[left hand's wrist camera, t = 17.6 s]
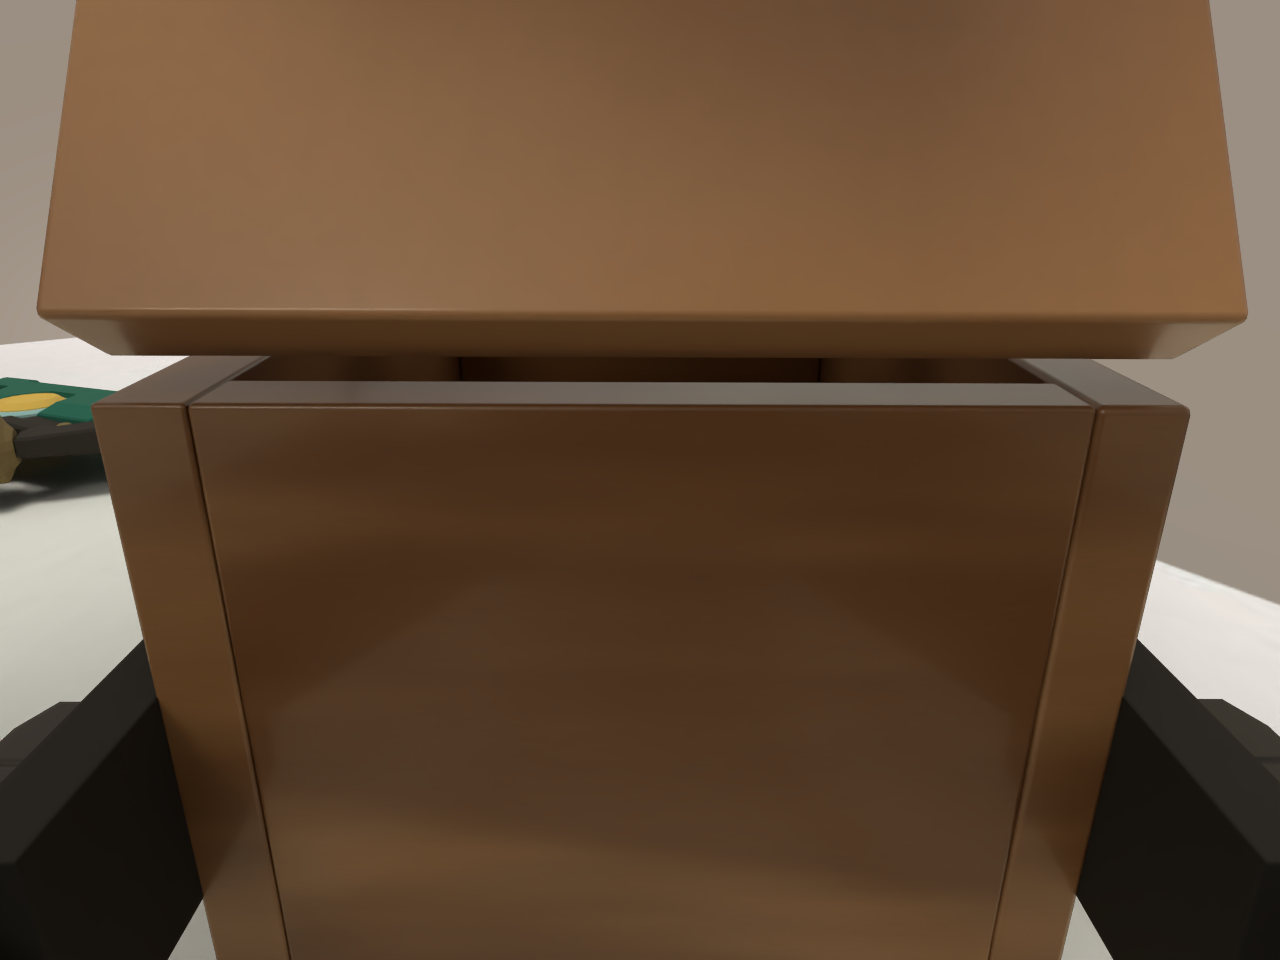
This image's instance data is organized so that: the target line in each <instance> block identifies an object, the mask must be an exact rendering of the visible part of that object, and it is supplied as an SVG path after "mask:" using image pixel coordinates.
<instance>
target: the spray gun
mask: <svg viewBox="0 0 1280 960" xmlns="http://www.w3.org/2000/svg"><path fill="white" fill-rule="evenodd" d="M115 392H117V391H109V390H101V389H92V388H83V387H74V386H66V385H57V384H48V383H40V382H39V381H36V380H27V379H18V378H8V377H6V378H1V379H0V484H2V483H8V482H10V481H11V480H12V477H13V474H14V472H15V469H16V468H17V466H18V465H19V464H20V462H21V458H40V457H54V456H68V455H81V454H95V453H101V451H100V447H99V443H98V438H97V434H96V430H95V425H94V421H93V416H92V412H91V405H92V404H93V403H95V402H97V401H99V400H101V399H103V398H105V397H107V396H109V395H111V394H113V393H115Z"/></svg>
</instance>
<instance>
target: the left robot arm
mask: <svg viewBox="0 0 1280 960" xmlns="http://www.w3.org/2000/svg"><path fill="white" fill-rule="evenodd" d="M1076 896H1077V897H1078V899H1079V901H1080V903H1081V904H1082V906H1083V908H1084V910H1085V911H1086V913H1087V915H1088V916H1089V918H1090V920H1091V922H1092V923H1093V925H1094V927H1095V929H1096V930H1097V932H1098V934H1099V936H1100V937H1101V939H1102V941H1103V943H1104V944H1105V946H1106V948H1107V949H1108V951H1109V953H1110V955H1111V956H1112V958H1113V960H1280V737H1279V736H1278V735H1277V734H1276V733H1275V732H1274V731H1273V730H1272V729H1271V728H1270V727H1269V726H1267V725H1266V724H1264V723H1262V722H1260V721H1259V720H1257V719H1255V718H1254V717H1252V716H1250V715H1248V714H1247V713H1245V712H1243V711H1242V710H1240V709H1238V708H1236V707H1235V706H1233V705H1231V704H1230V703H1228V702H1226V701H1224V700H1223V699H1197V698H1196V697H1195V696H1194V695H1193V694H1192V693H1191V692H1190V691H1189V690H1188V689H1187V688H1186V687H1185V686H1184V685H1183V684H1182V683H1181V682H1180V681H1179V680H1178V679H1177V678H1176V677H1175V676H1174V675H1173V674H1172V673H1171V672H1170V671H1169V670H1168V669H1167V668H1166V667H1165V666H1164V665H1163V664H1162V663H1161V662H1160V661H1159V660H1158V659H1157V658H1156V657H1155V656H1154V655H1153V654H1152V653H1151V652H1150V651H1149V650H1148V649H1147V648H1146V647H1145V646H1144V645H1143V644H1142V643H1141V642H1140V641H1139V640H1138V639H1137V641H1136V646H1135V650H1134V654H1133V658H1132V662H1131V667H1130V671H1129V675H1128V679H1127V684H1126V688H1125V692H1124V696H1123V698H1122V702H1121V706H1120V710H1119V715H1118V719H1117V723H1116V727H1115V732H1114V736H1113V740H1112V745H1111V749H1110V753H1109V757H1108V762H1107V766H1106V770H1105V774H1104V779H1103V783H1102V787H1101V792H1100V796H1099V800H1098V804H1097V809H1096V813H1095V817H1094V821H1093V826H1092V830H1091V834H1090V839H1089V843H1088V847H1087V851H1086V856H1085V860H1084V864H1083V868H1082V873H1081V877H1080V881H1079V885H1078V890H1077V894H1076ZM203 897H204V896H203V892H202V887H201V883H200V879H199V874H198V870H197V866H196V861H195V857H194V853H193V848H192V844H191V840H190V835H189V831H188V827H187V822H186V818H185V814H184V810H183V805H182V801H181V797H180V792H179V788H178V784H177V779H176V775H175V771H174V766H173V762H172V758H171V753H170V749H169V745H168V740H167V736H166V732H165V727H164V723H163V719H162V715H161V710H160V706H159V702H158V698H157V696H156V692H155V687H154V683H153V679H152V674H151V670H150V666H149V661H148V657H147V652H146V648H145V644H144V639H143V640H142V641H141V642H140V643H139V644H138V645H137V646H136V647H135V648H134V649H133V650H132V651H131V652H130V653H129V654H128V655H127V656H126V657H125V658H124V659H123V660H122V661H121V662H120V663H119V664H118V665H117V666H116V667H115V668H114V669H113V670H112V671H111V672H110V673H109V674H108V675H107V676H106V677H105V678H104V679H103V680H102V681H101V682H100V683H99V684H98V685H97V686H96V687H95V688H94V689H93V690H92V691H91V692H90V693H89V694H88V695H87V696H86V697H85V698H84V699H83V700H82V701H81V702H59V703H57V704H55V705H54V706H52V707H50V708H49V709H47V710H45V711H43V712H42V713H40V714H38V715H37V716H35V717H33V718H32V719H30V720H28V721H26V722H25V723H23V724H21V725H20V726H18V727H16V728H14V729H13V730H12V731H11V732H10V733H9V734H8V735H7V736H6V737H5V738H4V739H3V740H2V741H0V960H168V958H169V956H170V955H171V953H172V951H173V949H174V948H175V946H176V944H177V942H178V941H179V939H180V937H181V935H182V934H183V932H184V930H185V928H186V927H187V925H188V923H189V922H190V920H191V918H192V916H193V915H194V913H195V911H196V909H197V908H198V906H199V904H200V902H201V901H202V899H203Z"/></svg>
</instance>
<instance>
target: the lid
mask: <svg viewBox="0 0 1280 960" xmlns="http://www.w3.org/2000/svg"><path fill="white" fill-rule="evenodd" d="M37 312H38V315H39V316H40V318H42V319H44V320H46V321H48V322H50V323H52V324H53V325H55V326H57V327H59V328H61V329H63V330H64V331H66V332H68V333H70V334H72V335H74V336H76V337H77V338H79V339H81V340H83V341H85V342H87V343H89V344H90V345H92V346H94V347H96V348H98V349H100V350H102V351H103V352H105V353H107V354H110V355H137V356H419V357H700V358H981V359H1173V358H1176V357H1178V356H1180V355H1182V354H1184V353H1186V352H1187V351H1189V350H1191V349H1193V348H1195V347H1197V346H1199V345H1201V344H1203V343H1205V342H1206V341H1208V340H1210V339H1212V338H1214V337H1216V336H1218V335H1220V334H1222V333H1224V332H1226V331H1227V330H1229V329H1231V328H1233V327H1235V326H1237V325H1239V324H1241V323H1243V322H1244V321H1245V320H1246V319H1247V315H1248V309H1247V301H1246V293H1245V285H1244V277H1243V269H1242V261H1241V253H1240V245H1239V237H1238V229H1237V220H1236V212H1235V205H1234V196H1233V188H1232V180H1231V172H1230V164H1229V156H1228V148H1227V140H1226V132H1225V124H1224V117H1223V108H1222V100H1221V92H1220V84H1219V76H1218V68H1217V60H1216V52H1215V44H1214V36H1213V28H1212V20H1211V12H1210V4H1209V0H77V1H76V8H75V16H74V24H73V31H72V39H71V47H70V54H69V62H68V70H67V77H66V85H65V93H64V101H63V108H62V116H61V124H60V131H59V139H58V147H57V154H56V162H55V170H54V178H53V185H52V193H51V201H50V208H49V216H48V224H47V231H46V239H45V247H44V255H43V262H42V270H41V278H40V286H39V293H38V301H37Z"/></svg>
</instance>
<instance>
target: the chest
mask: <svg viewBox="0 0 1280 960" xmlns="http://www.w3.org/2000/svg"><path fill="white" fill-rule="evenodd" d="M91 412H92V416H93V421H94V425H95V430H96V434H97V438H98V443H99V447H100V451H101V456H102V460H103V464H104V469H105V473H106V478H107V482H108V486H109V491H110V495H111V499H112V504H113V508H114V513H115V517H116V521H117V526H118V530H119V534H120V539H121V543H122V548H123V552H124V556H125V561H126V565H127V569H128V574H129V578H130V582H131V587H132V591H133V596H134V600H135V604H136V609H137V613H138V617H139V622H140V626H141V631H142V635H143V639H144V644H145V648H146V652H147V657H148V661H149V666H150V670H151V674H152V679H153V683H154V687H155V692H156V696H157V698H158V702H159V706H160V710H161V715H162V719H163V723H164V727H165V732H166V736H167V740H168V745H169V749H170V753H171V758H172V762H173V766H174V771H175V775H176V779H177V784H178V788H179V792H180V797H181V801H182V805H183V810H184V814H185V818H186V822H187V827H188V831H189V835H190V840H191V844H192V848H193V853H194V857H195V861H196V866H197V870H198V874H199V879H200V883H201V887H202V892H203V896H204V897H203V902H204V906H205V910H206V915H207V919H208V923H209V928H210V932H211V937H212V941H213V945H214V950H215V954H216V958H217V960H1061V957H1062V953H1063V949H1064V944H1065V940H1066V936H1067V932H1068V928H1069V923H1070V919H1071V915H1072V911H1073V907H1074V902H1075V898H1076V894H1077V890H1078V885H1079V881H1080V877H1081V873H1082V868H1083V864H1084V860H1085V856H1086V851H1087V847H1088V843H1089V839H1090V834H1091V830H1092V826H1093V821H1094V817H1095V813H1096V809H1097V804H1098V800H1099V796H1100V792H1101V787H1102V783H1103V779H1104V774H1105V770H1106V766H1107V762H1108V757H1109V753H1110V749H1111V745H1112V740H1113V736H1114V732H1115V727H1116V723H1117V719H1118V715H1119V710H1120V706H1121V702H1122V698H1123V696H1124V692H1125V688H1126V684H1127V679H1128V675H1129V671H1130V667H1131V662H1132V658H1133V654H1134V650H1135V646H1136V641H1137V637H1138V633H1139V629H1140V625H1141V620H1142V616H1143V612H1144V608H1145V604H1146V599H1147V595H1148V591H1149V587H1150V583H1151V578H1152V574H1153V570H1154V566H1155V562H1156V557H1157V553H1158V549H1159V545H1160V540H1161V536H1162V532H1163V528H1164V524H1165V519H1166V515H1167V511H1168V507H1169V503H1170V498H1171V494H1172V490H1173V486H1174V482H1175V477H1176V473H1177V469H1178V465H1179V460H1180V456H1181V452H1182V448H1183V444H1184V439H1185V435H1186V431H1187V427H1188V423H1189V418H1190V410H1189V409H1188V407H1186V406H1184V405H1182V404H1180V403H1178V402H1176V401H1174V400H1172V399H1170V398H1167V397H1166V396H1164V395H1161V394H1159V393H1157V392H1155V391H1153V390H1151V389H1149V388H1147V387H1145V386H1143V385H1141V384H1139V383H1137V382H1135V381H1133V380H1131V379H1129V378H1127V377H1125V376H1123V375H1121V374H1119V373H1117V372H1115V371H1113V370H1111V369H1109V368H1107V367H1105V366H1103V365H1101V364H1099V363H1097V362H1095V361H1093V360H1091V359H981V358H700V357H419V356H189V357H187V358H185V359H183V360H181V361H179V362H177V363H174V364H172V365H170V366H168V367H166V368H164V369H162V370H160V371H158V372H156V373H154V374H152V375H150V376H148V377H146V378H144V379H142V380H140V381H138V382H136V383H134V384H132V385H130V386H128V387H125V388H123V389H121V390H119V391H117V392H115V393H113V394H111V395H109V396H107V397H105V398H103V399H101V400H99V401H97V402H95V403H93V404H92V405H91Z"/></svg>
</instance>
